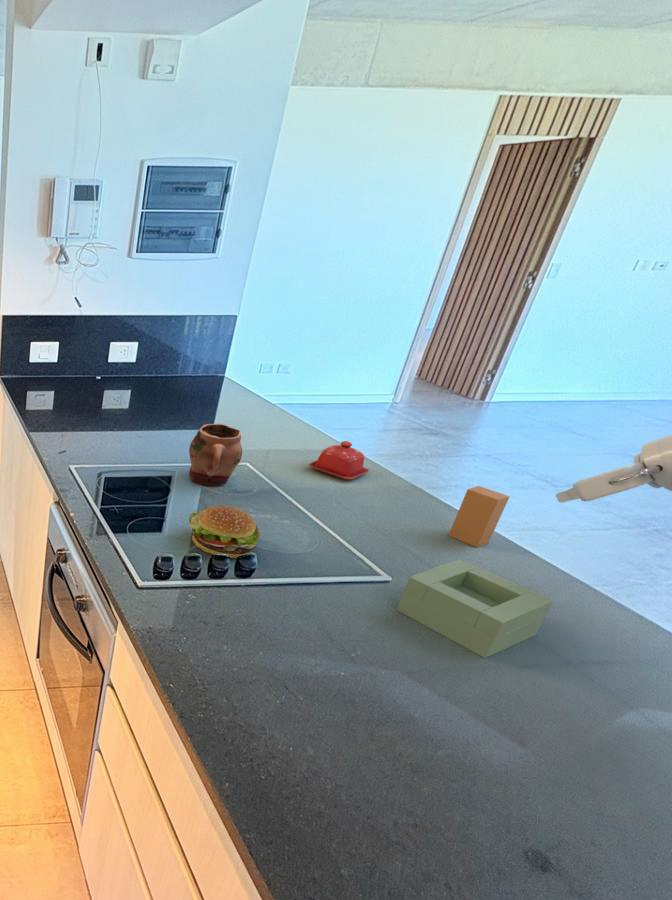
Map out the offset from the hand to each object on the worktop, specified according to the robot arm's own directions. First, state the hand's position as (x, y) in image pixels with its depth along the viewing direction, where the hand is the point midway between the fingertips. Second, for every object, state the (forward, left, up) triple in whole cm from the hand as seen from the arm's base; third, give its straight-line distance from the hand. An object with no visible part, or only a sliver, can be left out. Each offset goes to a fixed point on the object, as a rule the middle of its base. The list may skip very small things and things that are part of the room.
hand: (573, 493), depth 113 cm
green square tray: (-5, +32, -16) cm, 36 cm away
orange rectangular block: (+12, 0, -16) cm, 20 cm away
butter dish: (+48, -8, -16) cm, 52 cm away
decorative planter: (+57, +28, -16) cm, 66 cm away
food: (+32, +50, -16) cm, 62 cm away
